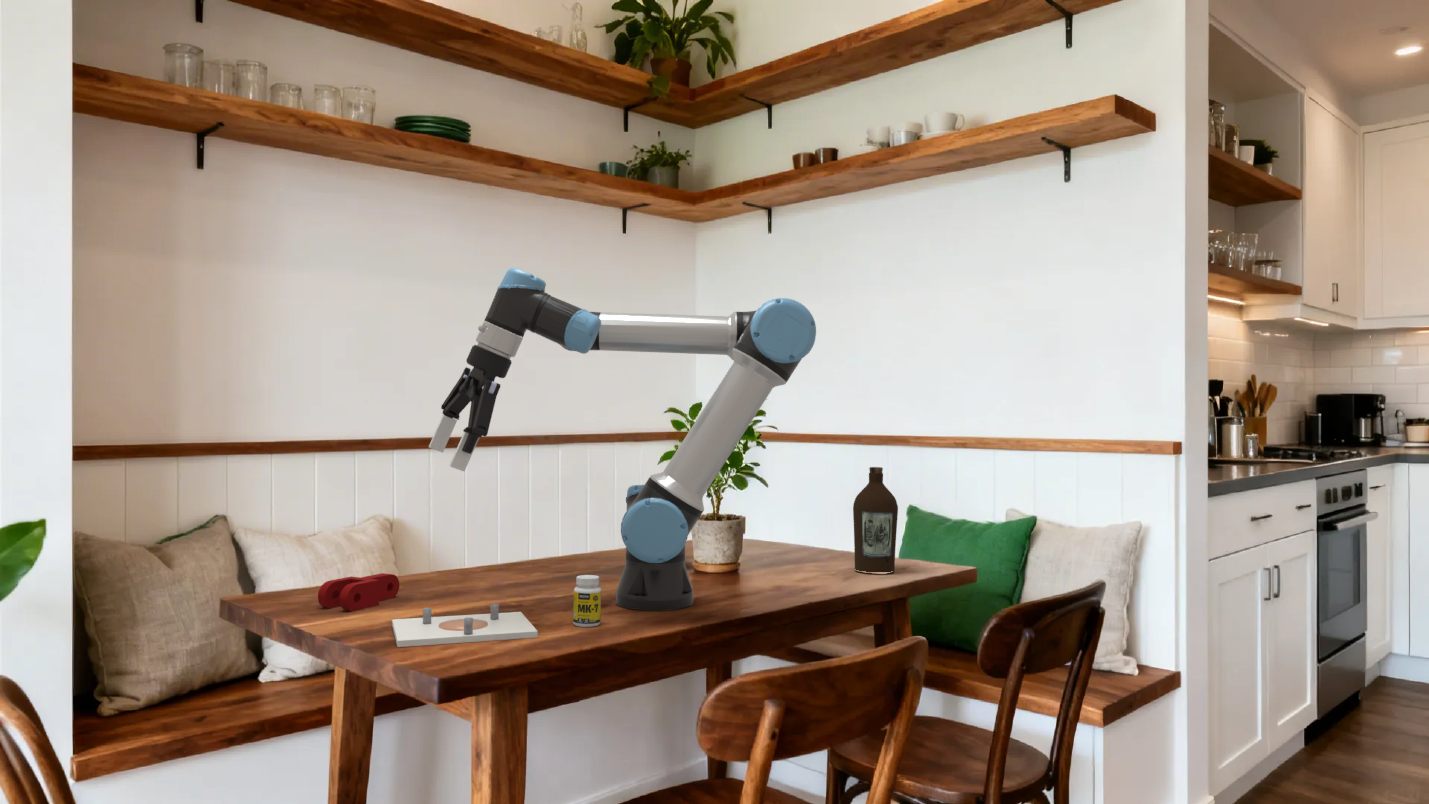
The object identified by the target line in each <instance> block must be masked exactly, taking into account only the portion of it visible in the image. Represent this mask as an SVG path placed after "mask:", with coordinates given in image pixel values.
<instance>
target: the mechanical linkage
mask: <svg viewBox="0 0 1429 804" xmlns="http://www.w3.org/2000/svg"><path fill="white" fill-rule="evenodd" d="M399 590H400V581H399V578H398V576H397V575H395V574H392V573H382V572H381V573H377V574H372V575H367V576H362V577H358V576H346V577H342V578H337V579H331V580H327V581H325V582H323V584H322V585H321V586H320V588H319V590H318V593H317V601H318V603H319V606H321V608H326V609H335V608H339V607H341V609H343V610H344V611H345V612H346V611H347V612H355V611H361V610H365V609H369V608H372V607H377V606H379V602H383V601H387V600H390V599H395V598H396V596H397V595H398V593H399Z"/></svg>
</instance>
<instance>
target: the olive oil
mask: <svg viewBox="0 0 1429 804" xmlns="http://www.w3.org/2000/svg"><path fill="white" fill-rule="evenodd" d="M868 470H869V472H868V483H867V484H866V486H865V487H863V489H862V490H861V491H860V492H859V493H858V494H857V495H856V497H855V499H854V501H853V504H852V505H853V507H852V511H853V512H852V517H853V540H854V541H853V542H854V543H853V546H854V570H855V569H856V570H859V571H866V572H891V571H894V572H895V567H896V565H895V563H896V544H897V529H898V527H897V526H898V516H899V515H898V513H899V505H898V502H897V499H896V497H895V496H894V495H893V493H892V492H891V491H890V490H889V489H888V488H887V487H886V485H885V484H884V473H883V470H884V468H883V467H881V466H870V467H869V468H868Z"/></svg>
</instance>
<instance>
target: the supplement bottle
mask: <svg viewBox="0 0 1429 804" xmlns="http://www.w3.org/2000/svg"><path fill="white" fill-rule="evenodd" d="M575 580H576V581H575V583H576V584H575V585H576V586H575V587H574V589H573V605H572V608H573V609H572V611H573V614H572V616H573V618H572V623H573V625H574V626H576V627H581V628H591V627H598V626H599V625H600V624H601V609H602V604H601V603H602V589H601V587H600V586H599V585H600V576H599V575H597V574H581V575H577V576H576V579H575Z"/></svg>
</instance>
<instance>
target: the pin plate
mask: <svg viewBox="0 0 1429 804" xmlns="http://www.w3.org/2000/svg"><path fill="white" fill-rule="evenodd" d="M499 607H500V604H499V603H491V604H490V610H489V611H490V613H475V614H461V615H460V614H459V615H458V614H457V615H446V616H445V615H444V616H442V615H441V616H432V613H433V612H432V609H433V608H432V607H423V608H422V617H412V618H410V617H409V618H396V619H392V620H391V627H392V631H393V634H394V635H393V636H394V639H395V643H396V644H395V645H396V647H397V648H404V647H405V648H407V647H420V646H432V645H433V646H435V645H445V644H446V645H447V644H450V645H451V644H459V643H460V644H463V643H477V642H478V643H479V642H490V641H492V642H493V641H505V640H506V641H508V640H519V639H520V640H521V639H535V638H538V636H539V635H538V634H539V633H538V632H539V631H538V630H537V628H535V626H534V625H533V624H532V623H531V622H530V620H529V619H527V617H526V616H525V615H524V614H523V613H522V611H513V612H500V611H499V610H500V608H499Z"/></svg>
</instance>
